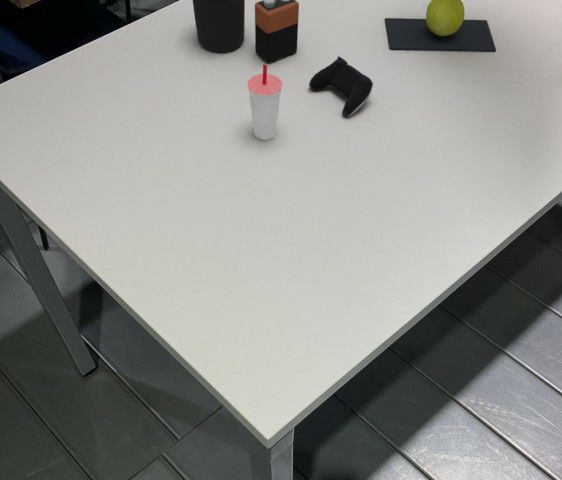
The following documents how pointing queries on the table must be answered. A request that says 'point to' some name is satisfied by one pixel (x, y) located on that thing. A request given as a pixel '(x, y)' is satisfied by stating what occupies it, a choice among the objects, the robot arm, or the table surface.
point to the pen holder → (220, 24)
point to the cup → (264, 103)
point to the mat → (421, 38)
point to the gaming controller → (344, 84)
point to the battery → (276, 28)
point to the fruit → (445, 16)
